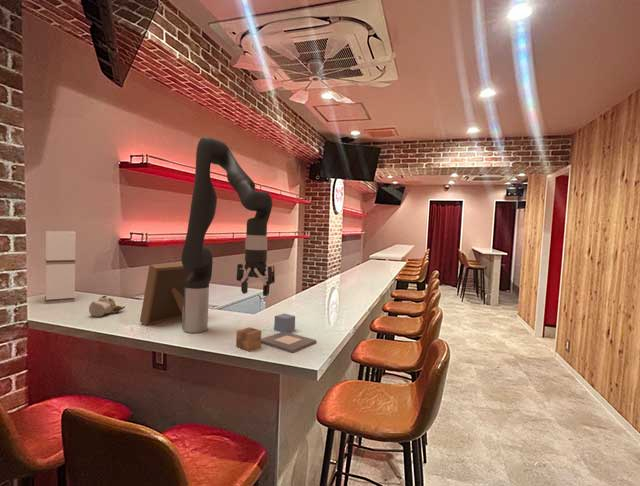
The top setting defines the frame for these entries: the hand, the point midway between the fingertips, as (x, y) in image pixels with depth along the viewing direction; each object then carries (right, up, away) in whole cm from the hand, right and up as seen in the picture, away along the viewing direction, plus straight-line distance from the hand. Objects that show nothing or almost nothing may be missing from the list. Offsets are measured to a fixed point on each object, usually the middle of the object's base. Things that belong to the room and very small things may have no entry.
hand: (254, 294), depth 121 cm
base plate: (+11, -19, +6) cm, 23 cm away
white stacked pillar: (-109, -11, +54) cm, 122 cm away
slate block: (+8, -18, +22) cm, 30 cm away
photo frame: (-39, -16, +27) cm, 50 cm away
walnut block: (-2, -19, 0) cm, 19 cm away
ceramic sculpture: (-74, -14, +33) cm, 82 cm away
